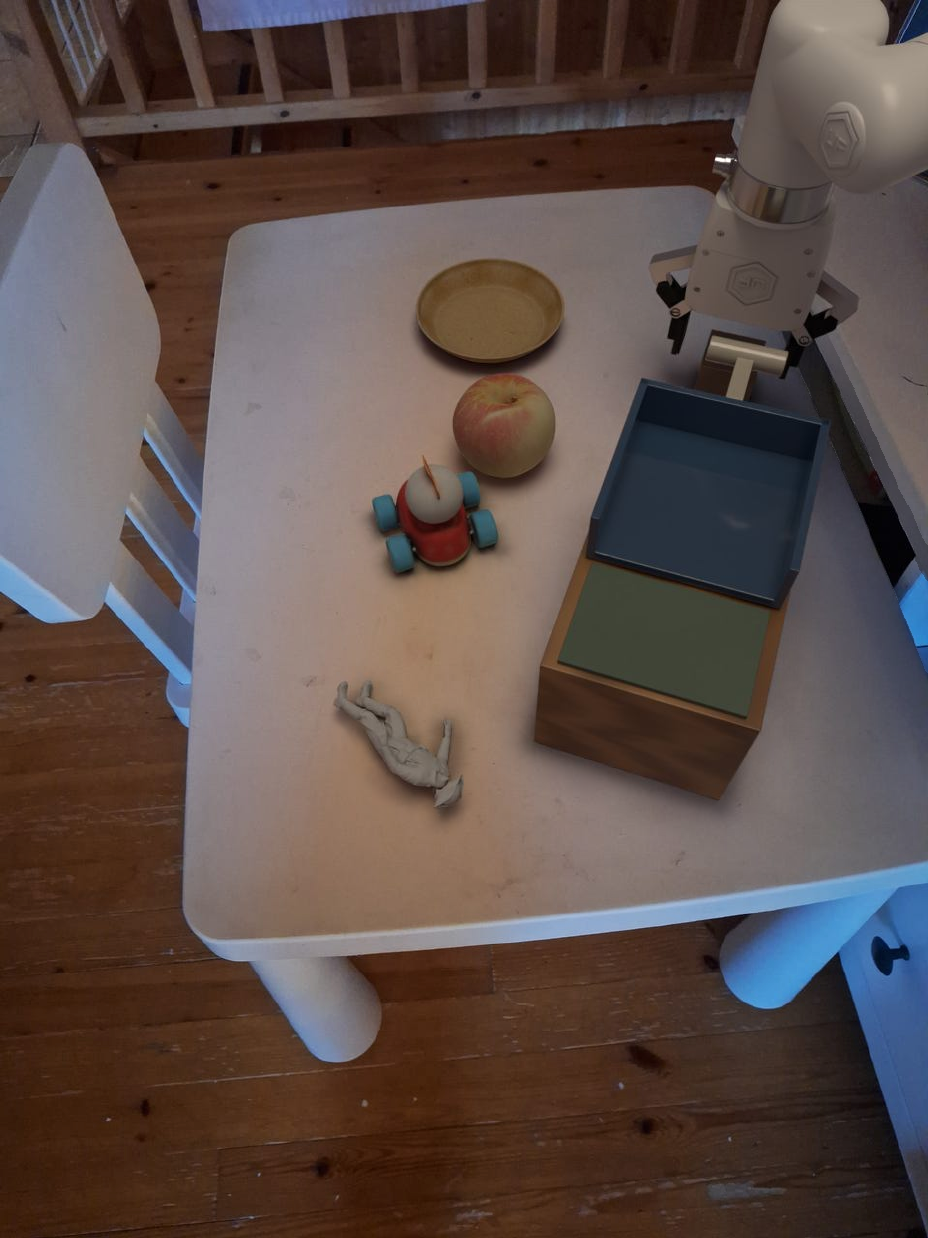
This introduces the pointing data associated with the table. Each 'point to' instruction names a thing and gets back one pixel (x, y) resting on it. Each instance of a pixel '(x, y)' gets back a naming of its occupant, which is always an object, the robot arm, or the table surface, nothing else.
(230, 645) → the table surface
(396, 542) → the toy car
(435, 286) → the plant saucer
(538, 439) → the apple
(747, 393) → the block
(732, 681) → the mat
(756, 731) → the stand
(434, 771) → the soldier figure
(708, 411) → the blue open box
